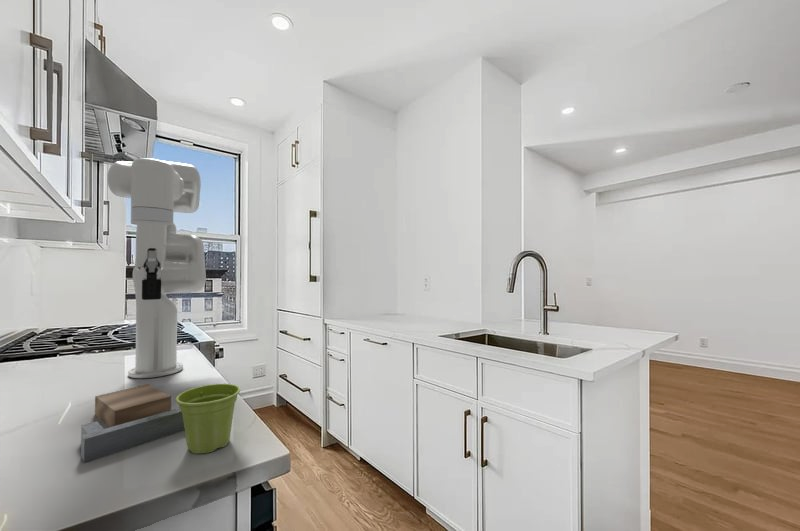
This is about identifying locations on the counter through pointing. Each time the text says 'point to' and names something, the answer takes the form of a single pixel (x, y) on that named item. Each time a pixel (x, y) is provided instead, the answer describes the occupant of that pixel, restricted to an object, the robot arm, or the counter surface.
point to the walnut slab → (131, 404)
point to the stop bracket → (127, 434)
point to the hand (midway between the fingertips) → (151, 297)
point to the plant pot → (208, 415)
